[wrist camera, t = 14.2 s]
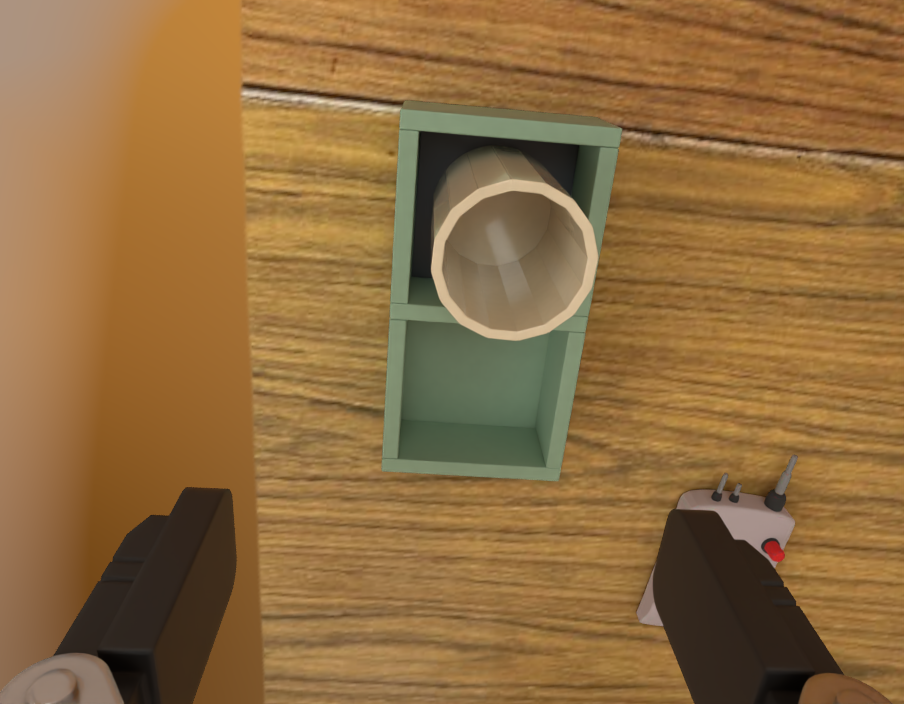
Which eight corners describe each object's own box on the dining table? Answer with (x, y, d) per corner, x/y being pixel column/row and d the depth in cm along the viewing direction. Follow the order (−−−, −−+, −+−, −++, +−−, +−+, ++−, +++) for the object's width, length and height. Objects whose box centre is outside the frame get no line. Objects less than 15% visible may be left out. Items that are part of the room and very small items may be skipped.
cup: (409, 232, 33) (402, 295, 25) (471, 120, 31) (485, 147, 23) (514, 289, 35) (540, 365, 26) (580, 185, 32) (630, 232, 24)
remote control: (627, 632, 46) (640, 670, 43) (702, 434, 39) (722, 463, 37) (721, 643, 46) (739, 680, 44) (809, 449, 40) (837, 478, 37)
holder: (404, 99, 31) (400, 108, 27) (597, 117, 32) (623, 128, 28) (386, 425, 39) (381, 471, 34) (545, 434, 39) (559, 481, 35)
